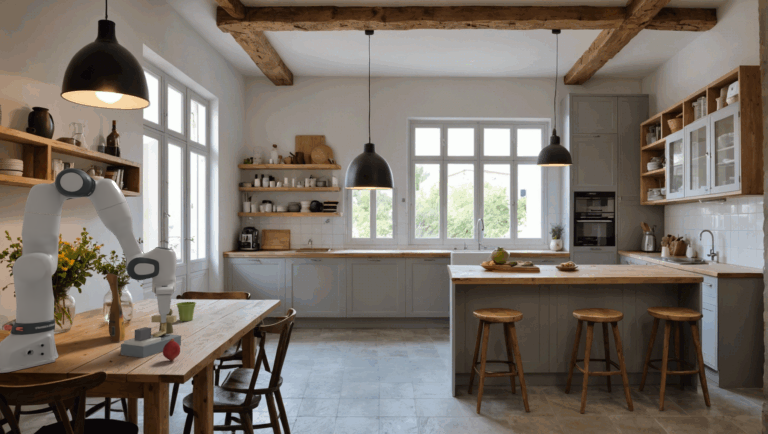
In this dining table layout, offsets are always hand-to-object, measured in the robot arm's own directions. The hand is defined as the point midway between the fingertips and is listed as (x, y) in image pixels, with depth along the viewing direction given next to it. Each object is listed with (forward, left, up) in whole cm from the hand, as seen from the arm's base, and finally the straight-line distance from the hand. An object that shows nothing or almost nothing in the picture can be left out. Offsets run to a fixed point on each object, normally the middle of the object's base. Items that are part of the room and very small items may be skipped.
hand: (163, 321), depth 193 cm
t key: (-3, -1, -5) cm, 6 cm away
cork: (+19, +16, -10) cm, 27 cm away
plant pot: (+44, +27, -10) cm, 53 cm away
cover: (-10, 0, -6) cm, 12 cm away
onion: (-15, -18, -10) cm, 25 cm away
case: (-6, 0, -10) cm, 12 cm away
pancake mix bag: (+3, +28, -10) cm, 30 cm away
